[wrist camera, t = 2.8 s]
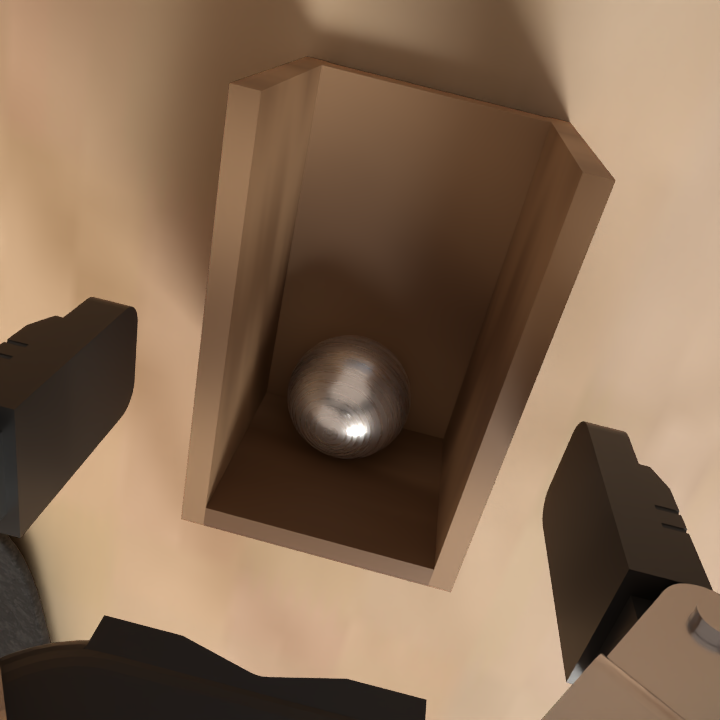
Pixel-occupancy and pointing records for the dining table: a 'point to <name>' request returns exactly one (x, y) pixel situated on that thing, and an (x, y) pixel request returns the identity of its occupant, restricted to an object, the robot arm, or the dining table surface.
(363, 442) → the ball
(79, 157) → the dining table surface
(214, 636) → the dining table surface
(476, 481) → the channel
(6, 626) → the sushi plate
